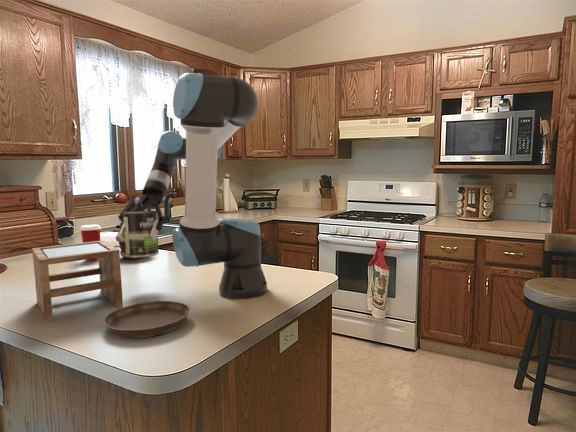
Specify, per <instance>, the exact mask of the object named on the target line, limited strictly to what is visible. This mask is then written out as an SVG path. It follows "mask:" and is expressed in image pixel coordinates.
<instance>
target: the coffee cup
mask: <svg viewBox="0 0 576 432" xmlns="http://www.w3.org/2000/svg"><path fill="white" fill-rule="evenodd" d="M101 229H102V228H101V225H99V224H85V225H81V226H80V229H79V231H80V233H81V234H80V235H81V240H82V243H85V242H94V241H100V233H101ZM84 261H86V262H97V261H98V258H94V259H87V260H84Z"/></svg>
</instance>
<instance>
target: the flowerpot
mask: <svg viewBox="0 0 576 432" xmlns="http://www.w3.org/2000/svg"><path fill="white" fill-rule="evenodd" d="M117 232H118V235H119V232H120V231H117ZM118 235H116V241H118V242H119V245H120V246H119V248H120V250H119V254H120V256H121V257H122V258H123V259H124V260H138V259H140V258H130V257H126V246H125V239H124V240H121V239H120V237H119V236H118ZM143 258H144V257H142V258H141V259H143Z"/></svg>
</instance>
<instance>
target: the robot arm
mask: <svg viewBox="0 0 576 432" xmlns="http://www.w3.org/2000/svg"><path fill="white" fill-rule="evenodd" d="M172 99H173V100H172V108H173V114H174V117H176V118H177V119H179V120H180V126H181V127H182V128H183V129H184V130H185V137H182V135H181V134H180V133H178V132H175V131H174V130H173V131H172V130H168V131H164V132H163V133H162V134H161V136H160V138H159V141H158V143H157V149H156V154H155V158H154V160H153V161H154V162H153V164H152V168H151V170H150V172H149V173H148V177H147V179H146V182H145V184H144V187H143V189H142V194H141V195H140V196H139V197H137V196H135V195H132V196H131V197H130V201H129V202H128V203H127V205H126V206H125V207H124V208H123V209H122V211H121V212H120V214H119V215H118V217H117V219H118V220H119V221H120V222H121V223H120V225H119V229H120V231H118V232H119V235H118V236H119V237H120V239H121V240H124V239H125V231H124V216H123V213H124V212H130V211H146V210H147V209H155V211H157V213H156V216H157V219H156V220H155V222H154V225H153V228H152V231H151V233H150V236H151V238H152V239H153V240H156V237H157V235H159V232H160V231H161V230H162V229H163V225H164V224H165V223H166V222H167V223H169V222H171V204H172V202H173V200H172V198H171V196H170V195H168V194H167V192H168V188H169V186H170V183H171V179H172V177H173V174H174V172H175V170H176V167H177V163H178V160H185V187H184V189H185V195H184V196H185V198H184V199H185V201H184V202H185V203H184V204H185V205H184V207H185V208H184V215H183V216H182V218H180V219H179V227H175V228H174V229H173V230H172V233H171V234H172V235H171V236H172V237H171V238H172V243H173V250H174V253H175V255H176V258H177V260H178V263H180V264H181V266H183V267H186V268H188V267H189V268H190V267H199V266H200V267H201V266H207V265H213V264H219V263H223V271H222V274H221V278H220V283H219V286H218V290H219V295H220V296H221V297H222V296H223V297H225V298H229V299H238V300H239V299H253V298H256V297H259V296H263V295H265V294H266V293H267V292H268V282H267V279H266V277H265V274H264V271H263V268H262V247H261V246H262V245H261V241H262V239H261V237H262V233H261V226H260V224H259V222H257V221H256V220H251V219H244V218H233V217H231V218H228V217H227V218H223V219H222V220H220V219H219V218H218V217H217V216H216V207H217V205H216V203H217V202H216V201H217V178H218V176H217V174H218V159H219V158H220V157H221V156H222V155H221V154H222V152H223V148H222V147H223V145H224V144H225V143H226V142H227V141H228V140H229V139H230V138H232V136H233V135H234V134H235V133H236V132H237V131H238V130H239V129H240V128H243V127H245V126H247V125H249V124H250V123H251V122H252V121H253V120H254V118H255V117H256V114H257V113H258V108H259V101H258V100H259V99H258V96H257V94H256V91H255V90H254V88H253V87H252V85H251V84H249V83H248V82H247V81H246V80H244V79H243V78H241V77H238V76H236V77H235V76H225V75H218V74H217V75H216V74H208V73H202V72H201V73H200V72H197V73H196V72H186V73H183V74H182V75H181V76H180V77H179V79H178V80H177V82H176V85H175V88H174V91H173V98H172ZM166 194H167V195H166ZM162 203H164V204H163V208H164V209H163V210H164V211H163V213H162V209H161V207H160V206H161V204H162Z"/></svg>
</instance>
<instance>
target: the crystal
mask: <svg viewBox="0 0 576 432" xmlns="http://www.w3.org/2000/svg"><path fill="white" fill-rule="evenodd" d="M118 232H119V231H114V232H109V231H108V232H100V241H105V242H107V243H108V244H110V245H112V246H113V247H115V248H116V247H120V245H119V242H118V241H116V235H118Z"/></svg>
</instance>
